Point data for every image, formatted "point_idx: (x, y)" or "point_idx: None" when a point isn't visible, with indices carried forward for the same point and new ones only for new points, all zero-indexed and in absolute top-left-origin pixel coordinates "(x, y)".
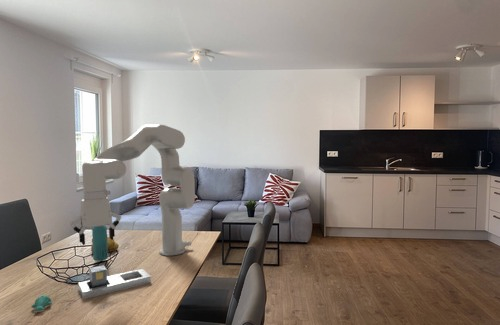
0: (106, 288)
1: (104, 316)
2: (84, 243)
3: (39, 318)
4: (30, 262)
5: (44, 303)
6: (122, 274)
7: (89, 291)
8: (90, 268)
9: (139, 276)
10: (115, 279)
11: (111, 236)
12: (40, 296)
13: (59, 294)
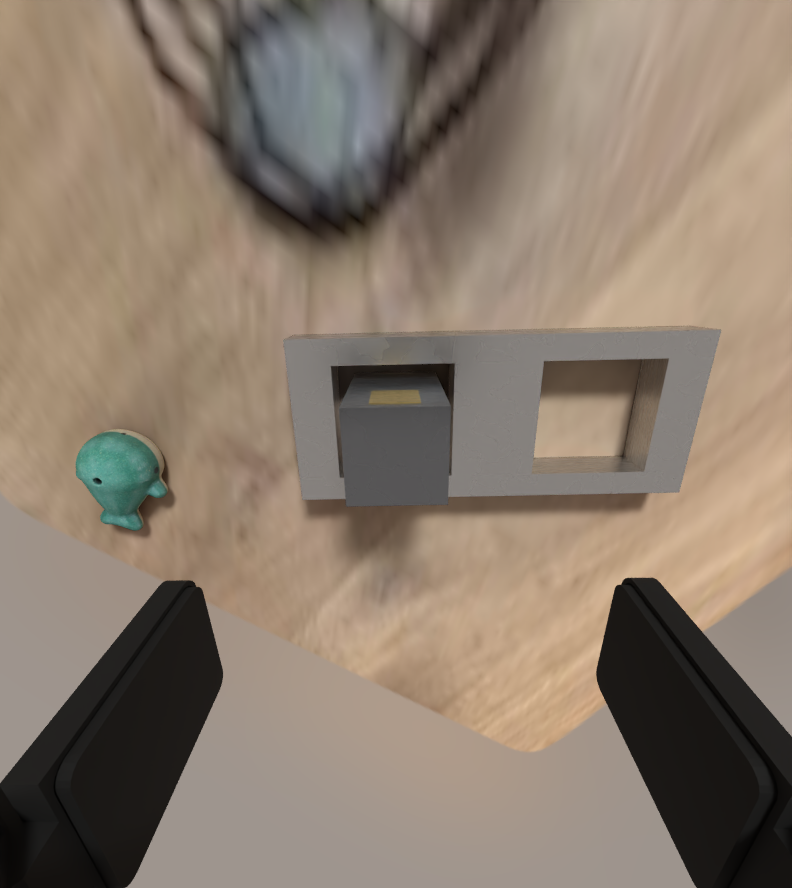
0: None
1: (371, 657)
2: (209, 699)
3: (142, 557)
4: None
5: (130, 507)
6: (562, 360)
7: (336, 497)
8: (346, 419)
9: (645, 391)
10: (496, 424)
11: (626, 731)
12: (87, 476)
13: (194, 349)
